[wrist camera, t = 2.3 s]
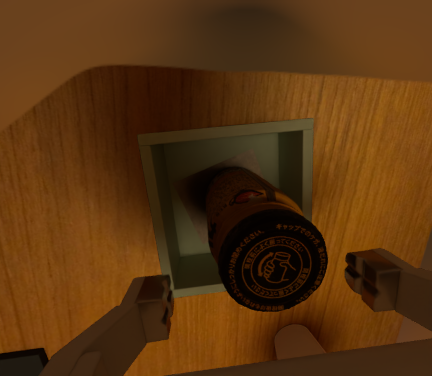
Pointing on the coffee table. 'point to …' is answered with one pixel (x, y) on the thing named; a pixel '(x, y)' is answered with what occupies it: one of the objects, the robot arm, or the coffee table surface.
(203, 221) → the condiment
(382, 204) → the coffee table surface
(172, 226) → the tray
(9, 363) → the mat
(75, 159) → the coffee table surface
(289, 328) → the cup
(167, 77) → the coffee table surface
